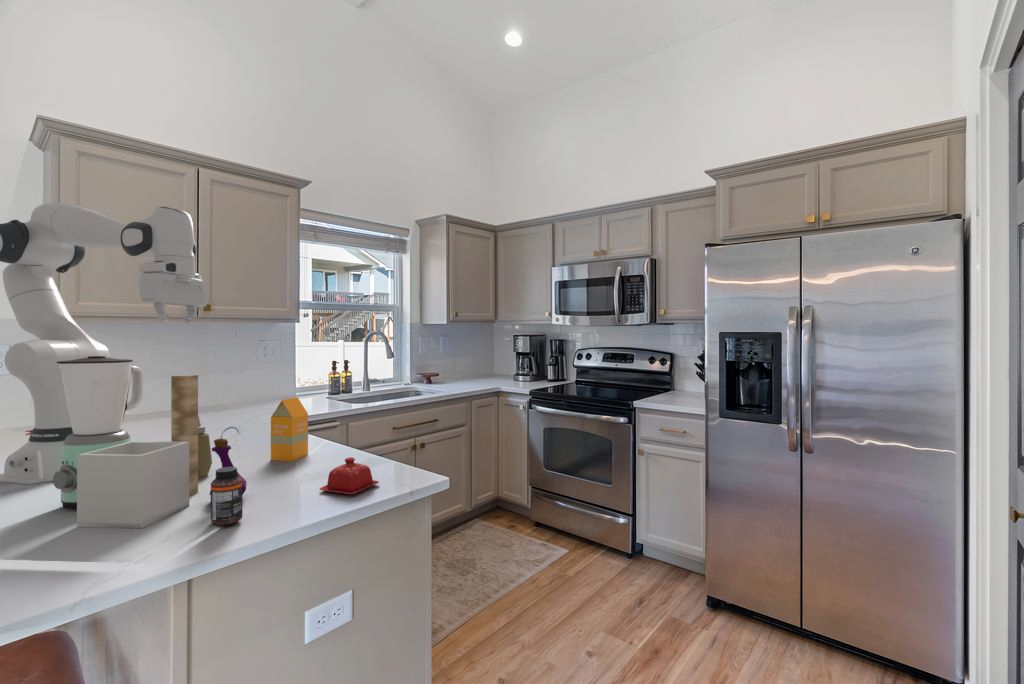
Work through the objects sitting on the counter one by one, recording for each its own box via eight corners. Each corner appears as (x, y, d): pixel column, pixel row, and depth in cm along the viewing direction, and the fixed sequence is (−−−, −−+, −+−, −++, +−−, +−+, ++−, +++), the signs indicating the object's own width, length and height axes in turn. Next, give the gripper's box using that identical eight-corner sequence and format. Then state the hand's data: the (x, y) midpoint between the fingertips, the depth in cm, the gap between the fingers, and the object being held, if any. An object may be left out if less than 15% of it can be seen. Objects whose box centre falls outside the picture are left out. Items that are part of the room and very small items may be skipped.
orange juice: (270, 462, 157) (270, 399, 157) (287, 456, 166) (287, 396, 166) (292, 463, 156) (292, 400, 156) (308, 457, 165) (308, 397, 165)
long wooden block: (171, 497, 123) (171, 376, 122) (183, 492, 127) (182, 375, 126) (186, 497, 122) (186, 376, 122) (198, 492, 126) (198, 375, 126)
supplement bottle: (219, 516, 109) (219, 465, 109) (247, 515, 109) (247, 464, 109) (204, 526, 103) (204, 472, 103) (234, 526, 104) (234, 472, 103)
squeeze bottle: (218, 474, 143) (218, 412, 143) (198, 482, 135) (198, 416, 135) (192, 473, 144) (192, 411, 144) (171, 481, 136) (171, 416, 136)
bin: (77, 526, 103) (76, 454, 103) (132, 504, 117) (132, 441, 117) (141, 528, 102) (141, 455, 102) (189, 505, 116) (189, 441, 116)
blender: (81, 516, 109) (81, 357, 109) (35, 511, 112) (35, 357, 112) (160, 491, 127) (160, 355, 127) (119, 487, 130) (119, 354, 130)
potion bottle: (209, 507, 115) (209, 430, 115) (211, 498, 121) (211, 425, 121) (246, 503, 118) (246, 427, 118) (246, 494, 125) (246, 423, 125)
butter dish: (316, 493, 126) (316, 460, 126) (347, 481, 137) (347, 451, 137) (352, 499, 122) (352, 464, 122) (381, 486, 133) (381, 454, 132)
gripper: (191, 275, 140) (192, 323, 140) (132, 264, 120) (134, 320, 120) (212, 274, 140) (214, 323, 140) (157, 263, 120) (159, 320, 120)
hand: (177, 322), depth 130 cm, fingers open, 8 cm apart
